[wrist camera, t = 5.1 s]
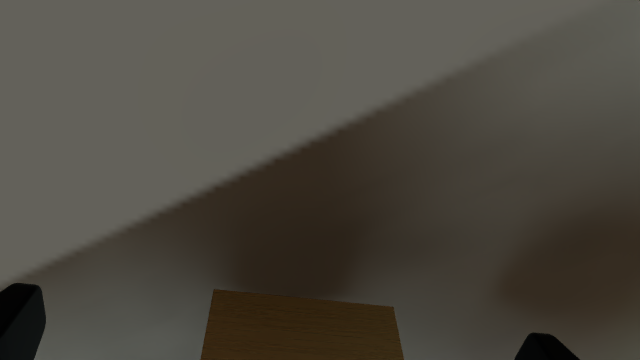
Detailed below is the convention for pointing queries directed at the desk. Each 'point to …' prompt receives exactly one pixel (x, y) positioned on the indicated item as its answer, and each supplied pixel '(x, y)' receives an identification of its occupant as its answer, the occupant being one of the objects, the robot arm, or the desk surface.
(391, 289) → the desk surface
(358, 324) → the pin
